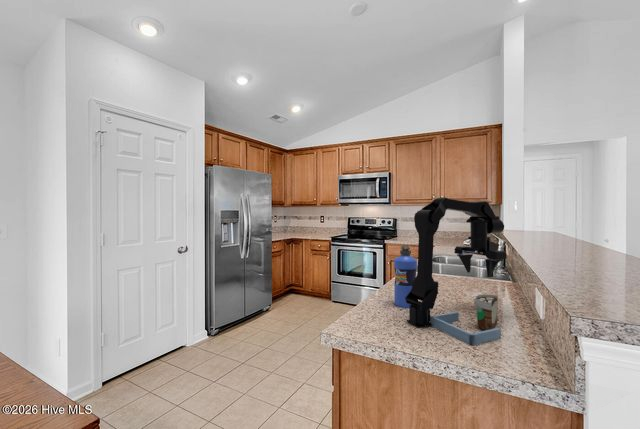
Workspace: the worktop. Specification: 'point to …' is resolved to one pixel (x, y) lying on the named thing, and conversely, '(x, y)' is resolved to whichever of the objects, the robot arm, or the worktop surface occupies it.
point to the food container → (486, 311)
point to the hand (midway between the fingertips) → (478, 274)
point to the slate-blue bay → (470, 338)
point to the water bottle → (404, 276)
